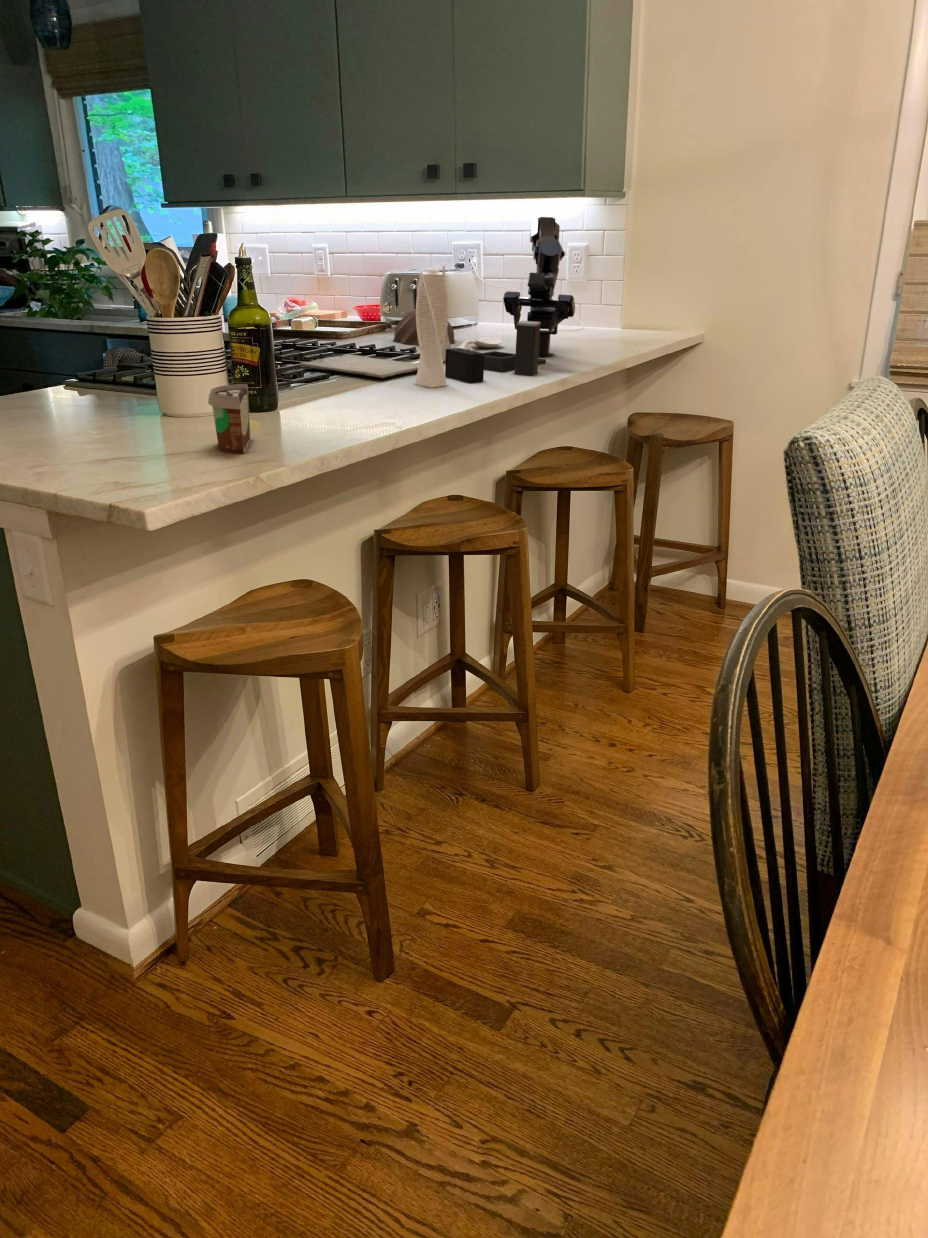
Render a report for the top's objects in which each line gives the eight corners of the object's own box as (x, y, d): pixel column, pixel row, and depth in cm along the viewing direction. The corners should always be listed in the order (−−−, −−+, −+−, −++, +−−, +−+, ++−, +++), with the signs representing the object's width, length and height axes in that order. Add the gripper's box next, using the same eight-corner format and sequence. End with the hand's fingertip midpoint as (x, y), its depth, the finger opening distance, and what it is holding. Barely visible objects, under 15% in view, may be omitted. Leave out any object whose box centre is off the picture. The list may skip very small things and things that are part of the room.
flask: (456, 358, 264) (457, 322, 260) (453, 362, 258) (454, 325, 254) (431, 357, 265) (431, 321, 261) (427, 361, 258) (428, 324, 254)
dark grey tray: (498, 356, 271) (499, 343, 270) (545, 362, 263) (546, 350, 261) (453, 364, 255) (454, 351, 253) (502, 372, 246) (503, 358, 245)
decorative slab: (297, 369, 240) (297, 361, 240) (348, 359, 257) (348, 352, 256) (384, 382, 228) (384, 373, 227) (431, 370, 245) (431, 363, 244)
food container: (217, 438, 172) (213, 383, 168) (251, 438, 172) (247, 383, 168) (206, 455, 160) (201, 396, 156) (242, 455, 161) (238, 396, 157)
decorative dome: (380, 340, 294) (379, 306, 289) (422, 334, 307) (423, 303, 303) (425, 347, 282) (425, 313, 278) (467, 341, 296) (468, 308, 292)
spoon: (432, 356, 267) (432, 343, 266) (482, 343, 293) (482, 332, 292) (460, 359, 263) (460, 346, 262) (508, 346, 290) (508, 334, 288)
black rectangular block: (487, 381, 234) (488, 352, 231) (470, 383, 230) (471, 354, 228) (461, 374, 241) (462, 346, 238) (445, 376, 238) (445, 348, 235)
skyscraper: (453, 385, 227) (456, 262, 215) (432, 389, 222) (434, 263, 210) (430, 380, 231) (432, 260, 220) (409, 384, 226) (409, 261, 215)
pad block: (519, 371, 248) (522, 320, 243) (537, 372, 247) (540, 321, 242) (514, 374, 244) (517, 322, 239) (532, 375, 243) (536, 323, 237)
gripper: (506, 258, 245) (493, 306, 240) (576, 262, 240) (564, 310, 235) (513, 288, 255) (500, 334, 250) (580, 292, 250) (568, 339, 245)
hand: (532, 329), depth 245 cm, fingers open, 9 cm apart
